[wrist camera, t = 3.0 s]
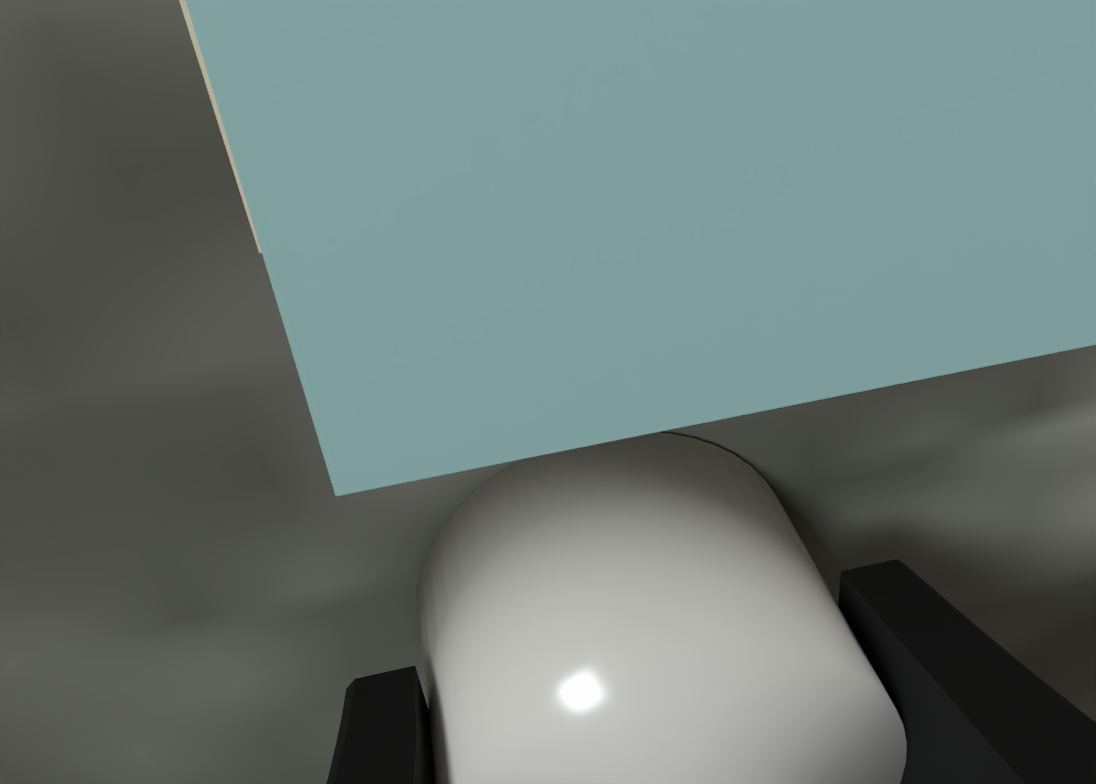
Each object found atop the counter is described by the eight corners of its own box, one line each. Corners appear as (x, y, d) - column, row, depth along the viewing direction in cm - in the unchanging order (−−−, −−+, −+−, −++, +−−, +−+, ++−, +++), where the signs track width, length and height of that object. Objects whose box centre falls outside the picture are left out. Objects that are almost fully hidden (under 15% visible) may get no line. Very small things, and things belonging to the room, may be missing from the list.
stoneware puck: (861, 528, 12) (997, 739, 10) (626, 745, 14) (691, 974, 11) (581, 364, 10) (662, 579, 7) (342, 642, 11) (345, 895, 9)
